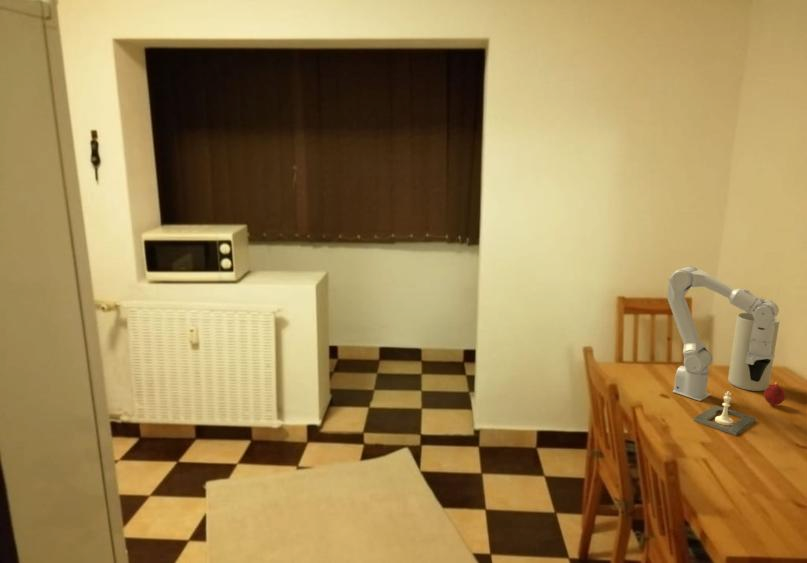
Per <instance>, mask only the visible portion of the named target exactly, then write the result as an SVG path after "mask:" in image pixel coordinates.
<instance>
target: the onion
mask: <svg viewBox="0 0 807 563" xmlns="http://www.w3.org/2000/svg"><path fill="white" fill-rule="evenodd" d="M763 397H764V399H765V401H766V402H767V403H768V404H770V405H771V406H776V405H779V404H782V403H783V402H784V401H785V400H786V392H785V390H784V388H782V387H781V386H780V385H779V383H778V382H774V384H772V385H771V384H770V385H769V387H767V388H766V389H765V390H764V392H763Z"/></svg>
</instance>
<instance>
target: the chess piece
mask: <svg viewBox="0 0 807 563" xmlns="http://www.w3.org/2000/svg"><path fill="white" fill-rule="evenodd" d="M731 395H732V393H731V392H730V391H728V390H727V391H726V392H725V393H724V395H723V401H724V402H723V403H721V404H722V407H723V408H724V409H723V413H721V415H716V416H715V417H714V421H715V423H717V424H720V425H722V426H732V425H733V424H734V420H733V419H732V418H731V417H729V414H728V409H729V407H731V404H730V402H731V400H732V397H731Z"/></svg>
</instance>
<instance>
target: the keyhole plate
mask: <svg viewBox="0 0 807 563" xmlns="http://www.w3.org/2000/svg"><path fill="white" fill-rule="evenodd" d="M723 409H724V406H719V405H716V404H714V405H713V406H711V407H709V408H708V409H707V410H704V411H703V412H701V413H700V414H698V415H696V416H695V417H694V419H693V421H694V422H696V423H699V424H702V425H705V426H708V427H710V428H713V429H716V430H719V431H721V432H724V433H728V434H730V435H732V436H735V437H737V436H738V435H739V434H740V433H742V432H743V431H744V430H746V429H747V428H749V427H750V426H751V425H753V424H754V423H755V422H756V420H757V418H756V417H753V416H750V415H747V414H744V413H741V412H738V411H735V410H731V409H729V408H728V415H731V416H733V417H734V416H735V417H737V418H739V419H741V420H737V421H736V422H733V425H729V426H726V425H722V424H719V423H717V422H714V421H712V419H713V418H716V417H717V414H719V413H720V414H722V413H723Z"/></svg>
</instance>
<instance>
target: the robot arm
mask: <svg viewBox="0 0 807 563" xmlns="http://www.w3.org/2000/svg"><path fill="white" fill-rule="evenodd" d="M667 286H668V287H667V290H666V299H667V301H668V304H669V307H670V311H671V312H672V315H673V318H674V322H675V324H676V327H677V330H678V333H679V335H680V338H681V341H682V344H683V349H682V354H683V365H680V366H679V367H678V368H677V370H676V371H675V375H674V376H675V377H674V383H673V384H674V385H673V390H672V393H675V394H677V395H679V396H683V397H686V398H689V399H692V400H695V401H699V402H701V401H704V400H706V399H707V398H709V397H710V396H711V393H709V392H707V389H708V380H709V374H710V370H709V366H710V364H711V363H712V361H713V355H712V353H711V351H709V349H707V347H706V344H705V343H704V342H703V341H701V338H700V335H699V333H698V330H697V327H696V325H695V321H694V319H693V317H692V313H691V310H690V307H689V306H688V302H687V300H686V295H687V293H688V292H689V290H690V289H691V288H699V287H702V288H706V289H709V290H710V291H712V292H714V293H716V294H719V295H721V296H723V297H725V298H728V300H729V303H730V304H731V306H734V307H736V308H738V309H740V310H742V311H744V313H749V314H752V315H753V317H754V323H753V327H752V333H751V340H750V346H749V351H748V357H746V363H747V364H748V366H749V370H750V378H751V380H752V381H756V382H759V381H760V379H761V377H762V374H763V372H764V370H765V368H766V367H767V365H768V364H769V363H770V361H771V360H769V359H773V360H774V359H775V355H774V356H773V355H771V350H772V349H771V346H772V340H773V334H774V325H775V319H774V318H775V317H776V318H777V316H778V315H779V311H780V309H779V306H778V305H777V304H776V303H775V302H774V301H773V300H770V299H767V300H765V298H764V297H759V296H758V295H755V294H753V293H751V292H750V290H749V289H747V288H744V289H743V288H737V289H735V288H733V287H731V286H729V285H727V284H726V283H725V282H723V281H721V280H719V279H717V278H716V277H714V276H712V275H710V274H709V273H707V272H705V271H704V270H702V269H699V268H697V267H695V266H692V265H688V266H685V267H683V268H680V269H676V270H675V271H673V273H672V274H671V275H670V277H669V278H668V285H667Z"/></svg>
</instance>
